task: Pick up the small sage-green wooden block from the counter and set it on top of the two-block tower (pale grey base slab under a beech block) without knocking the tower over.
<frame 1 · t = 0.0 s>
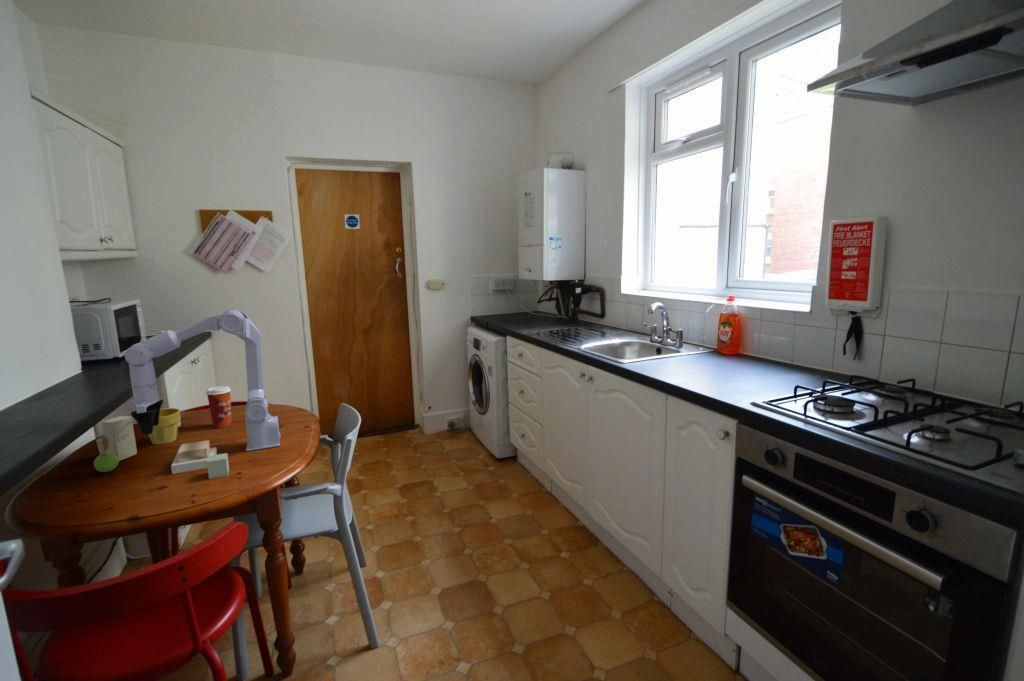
hand: (151, 429, 143), 10 cm above the table, tool pointing down, fingers open, 7 cm apart
grey base block: (196, 465, 144), on the table, touching beech top block
coffee cup: (177, 428, 175), on the table
plant pot: (164, 441, 162), on the table
beech top block: (195, 455, 143), point 2 cm above the table, touching grey base block
paper cup: (222, 426, 175), on the table
skincare box: (122, 457, 149), on the table
sage block: (219, 474, 137), on the table
snail figurine: (107, 472, 139), on the table
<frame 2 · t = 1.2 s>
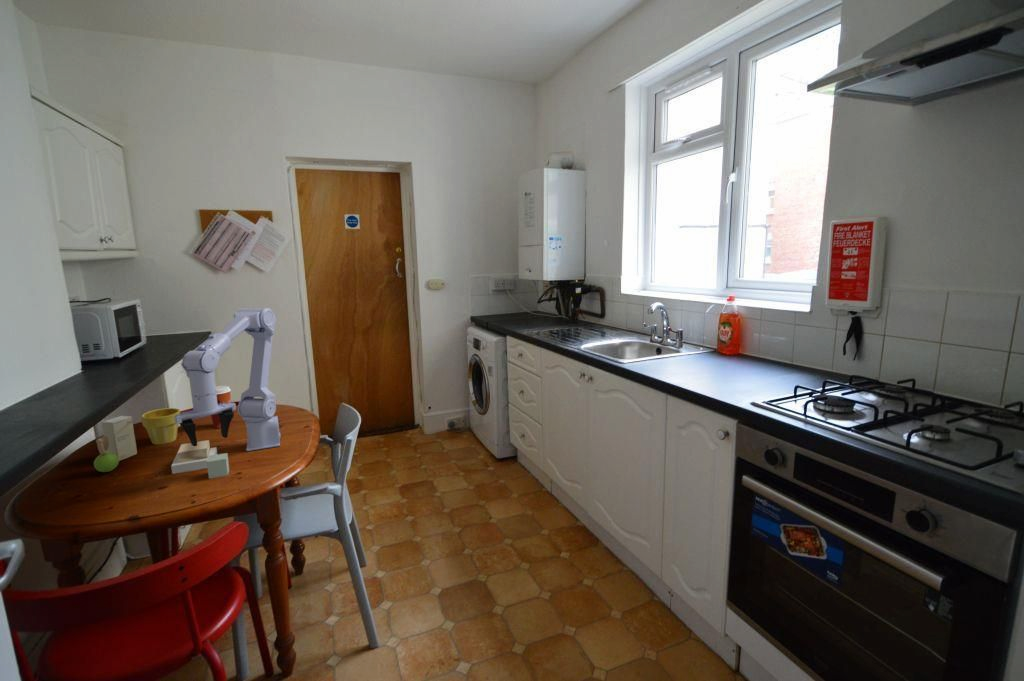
hand: (209, 441, 136), 9 cm above the table, tool pointing down, fingers open, 7 cm apart
nothing on the table moved.
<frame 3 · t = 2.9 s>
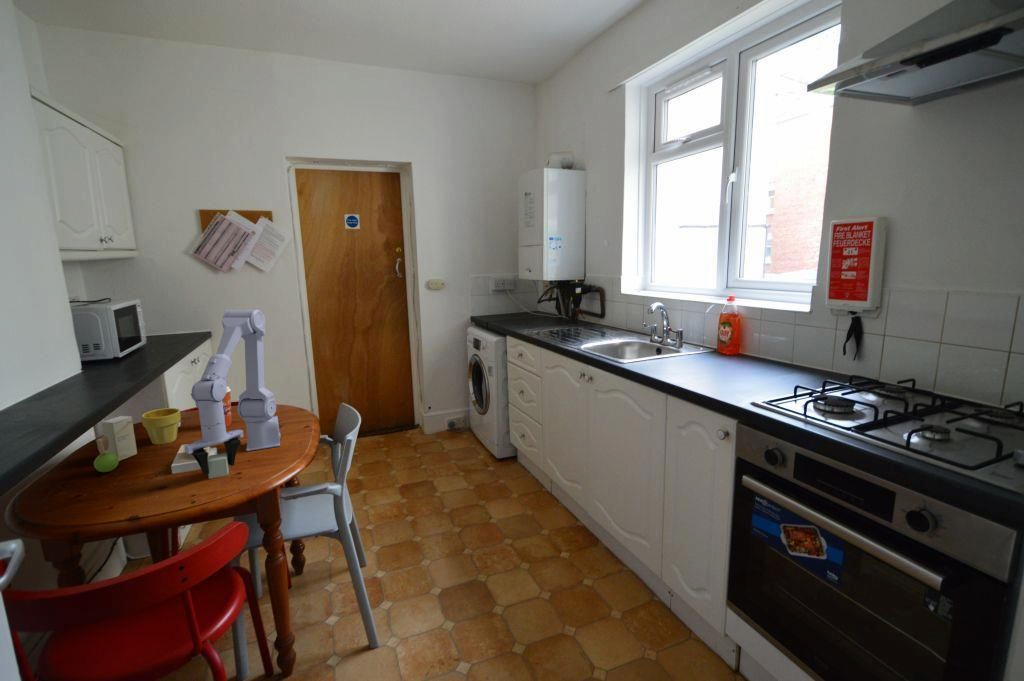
hand: (218, 469, 136), 1 cm above the table, tool pointing down, fingers closed on sage block, 6 cm apart
grey base block: (196, 465, 144), on the table
beech top block: (195, 456, 143), point 2 cm above the table
sage block: (219, 473, 137), on the table, touching gripper
everything else where it was.
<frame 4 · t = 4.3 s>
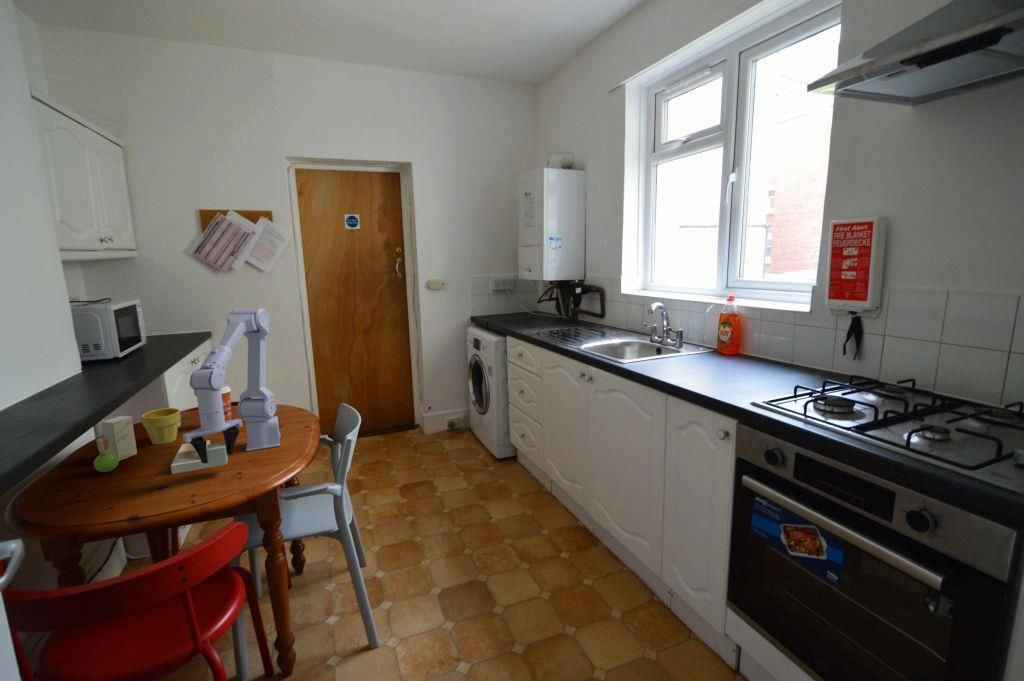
hand: (217, 458, 136), 5 cm above the table, tool pointing down, fingers closed on sage block, 6 cm apart
sage block: (218, 463, 136), point 3 cm above the table, touching gripper
everything else where it was.
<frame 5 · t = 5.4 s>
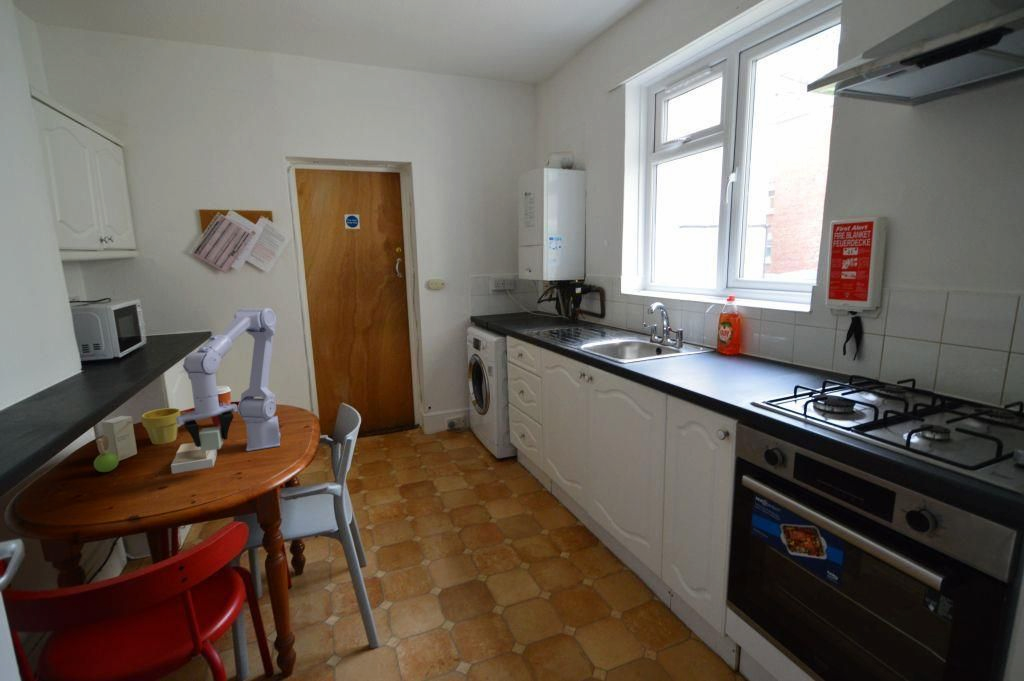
hand: (211, 442, 136), 9 cm above the table, tool pointing down, fingers closed on sage block, 6 cm apart
grey base block: (195, 465, 144), on the table, touching beech top block
beech top block: (194, 456, 143), point 2 cm above the table, touching grey base block
sage block: (212, 447, 136), point 7 cm above the table, touching gripper
everything else where it was.
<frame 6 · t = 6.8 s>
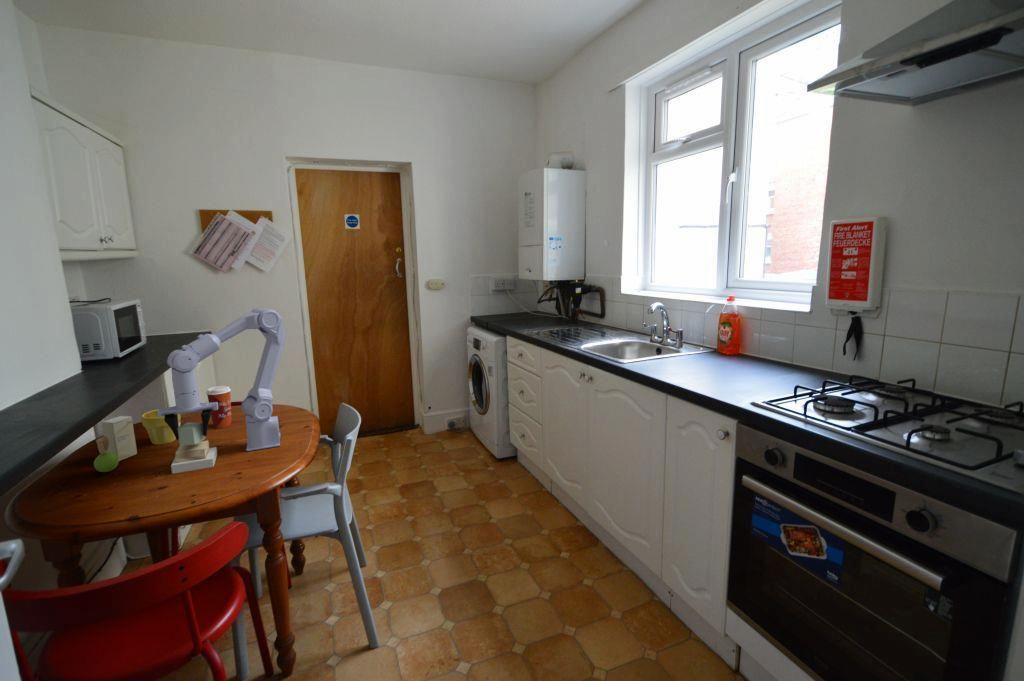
hand: (192, 436, 142), 8 cm above the table, tool pointing down, fingers closed on sage block, 6 cm apart
sage block: (192, 441, 142), point 7 cm above the table, touching gripper
everything else where it was.
when the fingers open (8 cm above the table, at t = 8.3 s): sage block stays where it is, point 6 cm above the table.
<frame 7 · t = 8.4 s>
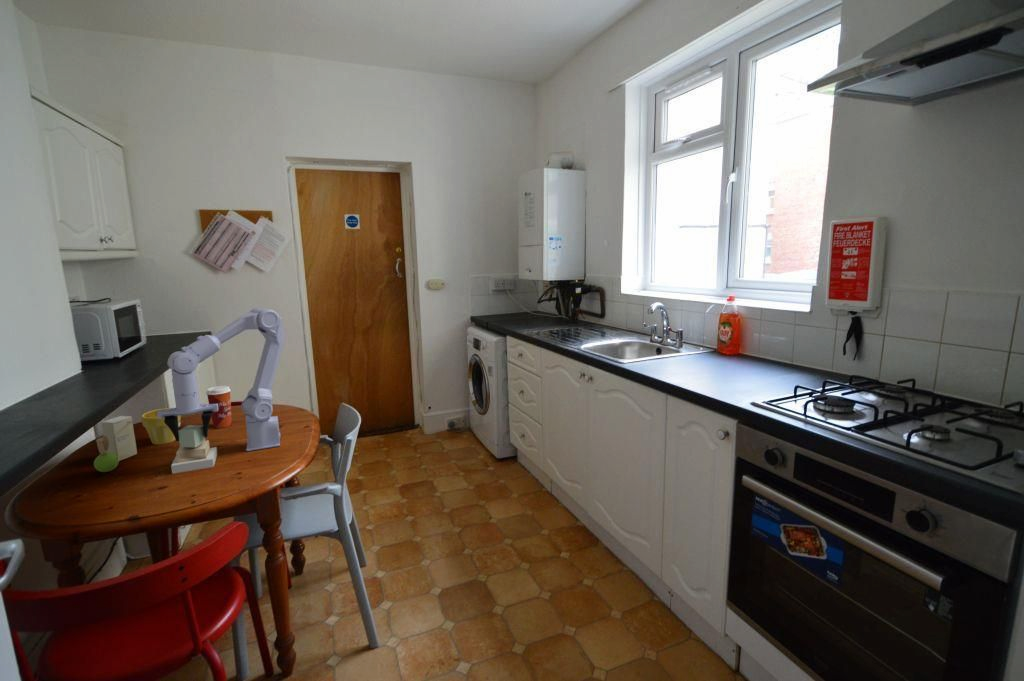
hand: (192, 438, 142), 8 cm above the table, tool pointing down, fingers open, 6 cm apart
sage block: (192, 444, 142), point 6 cm above the table
everything else where it was.
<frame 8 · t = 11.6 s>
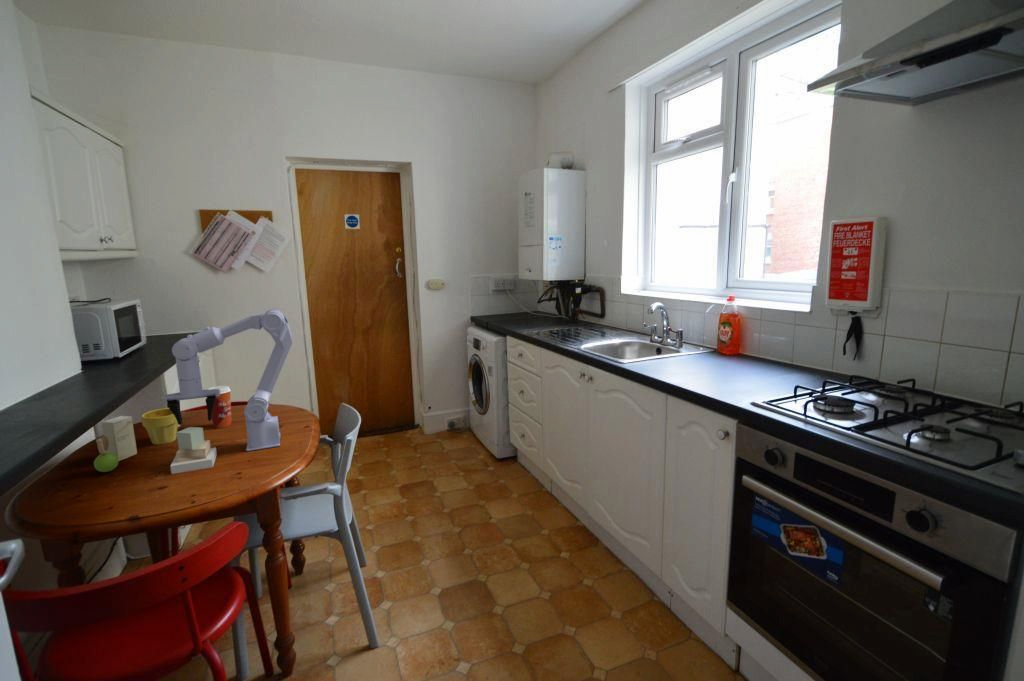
hand: (195, 421, 149), 10 cm above the table, tool pointing down, fingers open, 7 cm apart
beech top block: (194, 455, 143), point 2 cm above the table, touching grey base block, sage block
sage block: (191, 446, 143), point 5 cm above the table, touching beech top block
everything else where it was.
at the end: sage block 0.4 cm off-centre on the grey base block, point 6.0 cm above the grey base block's base; sage block tilted 1°; beech top block 0.6 cm off-centre on the grey base block, point 3.0 cm above the grey base block's base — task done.
